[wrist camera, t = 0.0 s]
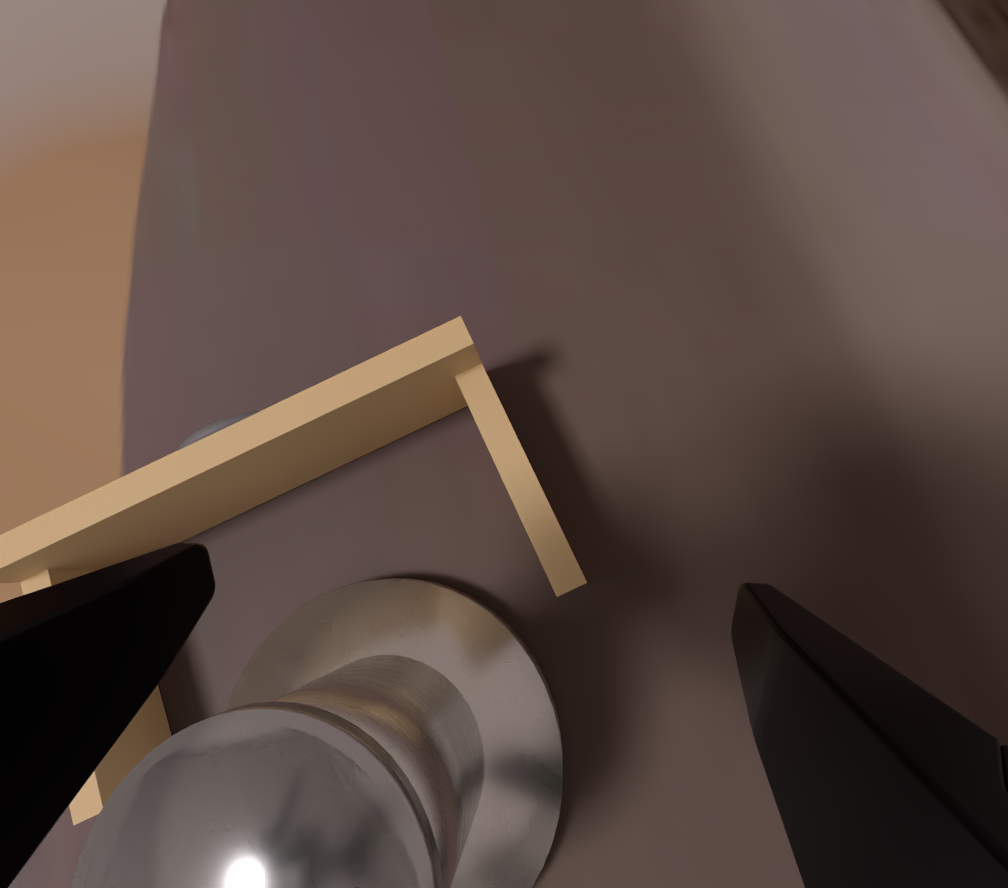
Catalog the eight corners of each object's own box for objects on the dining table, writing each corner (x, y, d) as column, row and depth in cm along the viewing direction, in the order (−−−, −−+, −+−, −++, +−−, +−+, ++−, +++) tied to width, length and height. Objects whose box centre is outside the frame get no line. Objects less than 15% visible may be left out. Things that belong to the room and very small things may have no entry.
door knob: (624, 855, 21) (689, 1165, 10) (299, 1007, 21) (25, 1473, 10) (478, 525, 24) (411, 498, 13) (198, 658, 24) (-90, 736, 14)
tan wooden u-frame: (583, 579, 23) (590, 585, 17) (155, 780, 23) (18, 855, 17) (480, 364, 26) (456, 307, 20) (95, 547, 26) (-42, 543, 20)
